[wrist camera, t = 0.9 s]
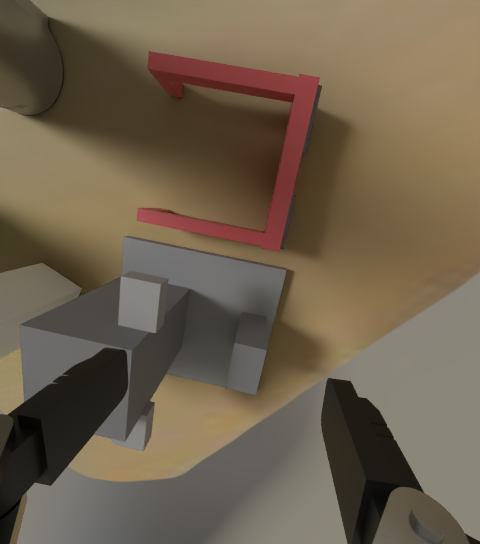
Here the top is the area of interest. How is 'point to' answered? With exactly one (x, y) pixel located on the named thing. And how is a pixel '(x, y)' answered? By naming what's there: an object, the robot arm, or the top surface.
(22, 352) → the stand
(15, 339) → the milk
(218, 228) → the red c-shaped frame
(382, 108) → the top surface
